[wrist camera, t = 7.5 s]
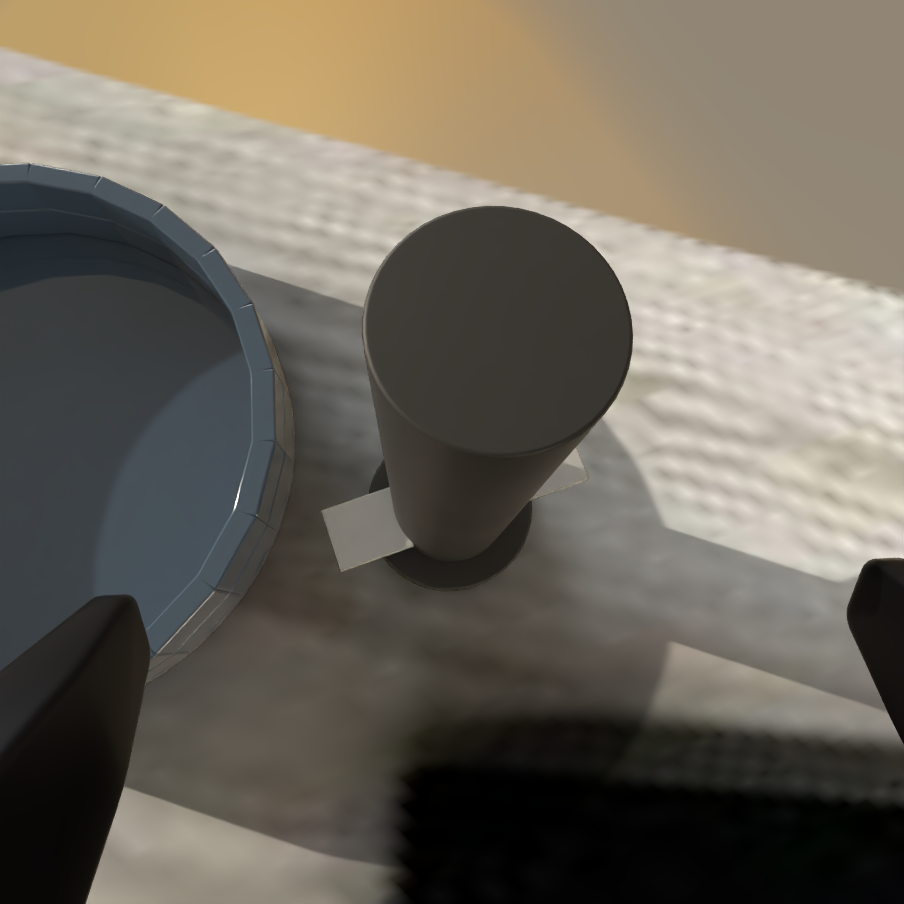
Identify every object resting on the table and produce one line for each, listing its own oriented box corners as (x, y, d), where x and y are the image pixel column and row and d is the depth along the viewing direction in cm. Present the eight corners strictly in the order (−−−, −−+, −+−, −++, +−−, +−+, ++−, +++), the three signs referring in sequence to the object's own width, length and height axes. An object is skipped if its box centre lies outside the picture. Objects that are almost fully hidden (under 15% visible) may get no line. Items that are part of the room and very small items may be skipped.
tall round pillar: (526, 405, 21) (680, 88, 9) (582, 547, 20) (845, 415, 8) (315, 475, 20) (159, 235, 8) (363, 627, 19) (272, 620, 7)
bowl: (381, 346, 21) (375, 300, 18) (123, 826, 18) (65, 864, 15) (-32, 155, 22) (-101, 82, 19) (-355, 577, 18) (-499, 566, 16)
